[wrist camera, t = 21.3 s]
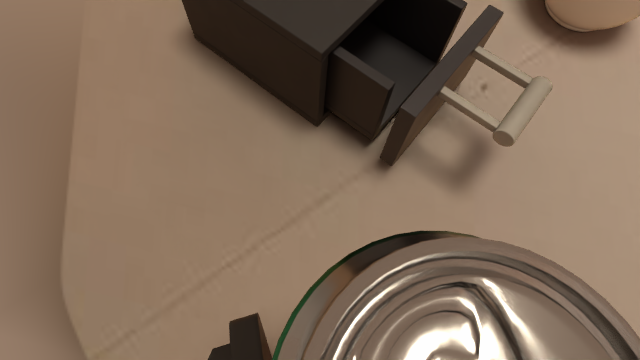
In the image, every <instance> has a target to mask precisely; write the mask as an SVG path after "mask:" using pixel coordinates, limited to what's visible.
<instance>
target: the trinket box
mask: <svg viewBox="0 0 640 360" xmlns="http://www.w3.org/2000/svg"><path fill="white" fill-rule="evenodd" d="M545 6H546V9H547V11H548V13H549V15H550V16H551V17H552V18H553V19H554V20H555V21H556V22H557V23H559V24H560V25H562V26H563V27H565V28H568V29H570V30H574V31H579V32H590V31H594V30H601V29H608V28H613V27H616V26H620V25H622V24H625V23H627V22H629V21H631V20H633V19H635V18H637V17H638V16H640V0H545Z"/></svg>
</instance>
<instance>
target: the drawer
mask: <svg viewBox="0 0 640 360" xmlns="http://www.w3.org/2000/svg"><path fill="white" fill-rule="evenodd" d="M466 6H467V2H465V1H463V0H384V1H383V2H382V3H381V4H380V5H379V6H378V7H377V8H376V9H375V10H374V11H373V12H372V13H371V14H370V15H369V16H368V17H366V18H365V19H364V20H363V21H362V22H361V23H360V24H359V25H358V26H357V27H356V28H355V29H354V30H353V31H352V32H351V33H350V34H349V35H348V36H347V37H346V38H345V39H344V40H343V41H342V42H341V43H340V44H339V45H338V46H337V47H336V48H335V49H334V50H332V51H331V52H330V53H329V54H328V66H327V78H326V89H325V101H324V107H326V108H327V109H328V110H330V111H331V112H333V113H334V114H336V115H337V116H338V117H340V118H341V119H343V120H344V121H345V122H347V123H348V124H350V125H351V126H352V127H354V128H355V129H357V130H358V131H359V132H361V133H362V134H364V135H365V136H366V137H368V138H369V139H371V140H373V139H374V138H375V136H376V135H377V134H378V133H379V132H380V131H381V129H382V128H383V127H384V126H385V125H386V124H387V123H388V121H389V120H390V119H391V118H392V117H393V116H394V115H395V113H396V112H397V111H398V110H399V112H398V114H397V116H396V119H395V121H394V124H393V126H392V129H391V131H390V134H389V136H388V138H387V141H386V143H385V146H384V148H383V151H382V153H381V156H380V158H381V159H382V160H383V161H385V162H386V163H388V164H389V165H390V166H392V165H393V164H394V163H395V162H396V161H397V159H398V158H399V157H400V156H401V155H402V153H403V152H404V151H405V150H406V148H407V147H408V146H409V145H410V144H411V142H412V141H413V140H414V139H415V137H416V136H417V135H418V134H419V133H420V131H421V130H422V129H423V128H424V127H425V125H426V124H427V123H428V122H429V120H430V119H431V118H432V117H433V116H434V114H435V113H436V112H437V111H438V109H439V108H440V107H441V106H442V105H443V103H444V102H445V101H446V102H447V103H449V104H450V105H452V106H453V107H455V108H456V109H458V110H459V111H461V112H462V113H464V114H465V115H467V116H469V117H470V118H472V119H473V120H475V121H476V122H478V123H479V124H481V125H482V126H484V127H485V128H487V129H489V130H490V131H492V132H493V139H494V140H495V141H496V142H497V143H498V144H500V145H502V146H506V147H508V146H512V145H513V144H514V143H515V141H516V140H517V138H518V137H519V135H520V134H521V133H522V131H523V130H524V128H525V127H526V125H527V124H528V123H529V121H530V120H531V118H532V117H533V115H534V114H535V112H536V111H537V110H538V108H539V107H540V105H541V104H542V102H543V101H544V100H545V98H546V97H547V95H548V94H549V92H550V91H551V89H552V83H551V81H550V80H549V79H547V78H545V77H541V76H539V77H535V78H532V77H530V76H528V75H527V74H525V73H523V72H522V71H520V70H519V69H517V68H515V67H514V66H512V65H510V64H509V63H507V62H505V61H504V60H502V59H500V58H499V57H497V56H495V55H494V54H492V53H490V52H489V51H487V50H485V49H484V48H483V47H484V45H485V43H486V42H487V40H488V38H489V37H490V35H491V34H492V32H493V30H494V29H495V27H496V25H497V24H498V22H499V20H500V19H501V17H502V15H503V12H502V11H500V10H498V9H497V8H495V7H493V6H491V5H489V6H488V7H487V8H486V9H485V10H484V12H483V13H482V14H481V15H480V16H479V17H478V18H477V20H476V21H475V22H474V23H473V24H472V25H471V26H470V28H469V29H468V30H467V31H466V32H465V33H464V34H463V36H462V37H461V38H460V39H459V40H458V41H457V42H456V44H455V45H454V46H453V47H452V48H451V49H450V51H449V52H448V53H447V54H446V55H445V56H444V57H443V59H442V60H441V61H440V59H441V57H442V55H443V53H444V51H445V49H446V47H447V45H448V43H449V41H450V39H451V37H452V35H453V33H454V31H455V28H456V26H457V24H458V22H459V20H460V18H461V16H462V14H463V12H464V10H465V8H466ZM476 59H478V60H479V61H481V62H482V63H484V64H486V65H487V66H489V67H491V68H492V69H494V70H496V71H497V72H499V73H500V74H502V75H504V76H505V77H507V78H509V79H510V80H512V81H514V82H515V83H517V84H518V85H520V86H522V87H523V88H526V89H525V90H524V91H523V93H522V94H521V95H520V97H519V98H518V100H517V101H516V102H515V104H514V105H513V106H512V108H511V109H510V110H509V112H508V113H507V115H506V116H505V117H504V119H503V120H502V121H501V122H500V121H498V120H497V119H495V118H494V117H492V116H491V115H489V114H487V113H486V112H484V111H483V110H481V109H480V108H478V107H477V106H475V105H473V104H472V103H470V102H469V101H467V100H466V99H464V98H462V97H461V96H459V95H458V94H456V93H455V92H453V91H454V90H455V89H456V88H457V86H458V85H459V84H460V83H461V81H462V80H463V79H464V78H465V76H466V75H467V73H468V71H469V70H470V68H471V67H472V65H473V63H474V62H475V60H476Z"/></svg>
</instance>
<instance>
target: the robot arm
mask: <svg viewBox="0 0 640 360" xmlns="http://www.w3.org/2000/svg"><path fill="white" fill-rule="evenodd" d="M229 330H230V344H227V345H223V346H220V347H217V348H214V349H213V350H212V352H211V354H210V356H209V358H208V360H272V356H271V353H270V350H269V346H268V343H267V340H266V337H265V333H264V330H263V327H262V323H261V320H260V317H259V314H258V313H255V314H252V315H249V316H246V317H242V318H239V319H236V320H232V321H230V323H229Z"/></svg>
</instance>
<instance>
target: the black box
mask: <svg viewBox="0 0 640 360" xmlns="http://www.w3.org/2000/svg"><path fill="white" fill-rule="evenodd" d="M383 1H384V0H182V2H183V5H184V8H185V11H186V14H187V16H188V19H189V22H190V25H191V28H192V30H193V34H194V37H195V38H196V39H197V40H199V41H200V42H201V43H203V44H204V45H205V46H207V47H208V48H210V49H211V50H212V51H214V52H215V53H216V54H218V55H219V56H220V57H222V58H223V59H225V60H226V61H227V62H229V63H230V64H231V65H233V66H234V67H236V68H237V69H238V70H240V71H241V72H242V73H244V74H245V75H247V76H248V77H249V78H251V79H252V80H253V81H255V82H256V83H258V84H259V85H260V86H262V87H263V88H264V89H266V90H267V91H269V92H270V93H271V94H273V95H274V96H275V97H277V98H278V99H280V100H281V101H282V102H284V103H285V104H286V105H288V106H289V107H290V108H292V109H293V110H295V111H296V112H297V113H299V114H300V115H301V116H303V117H304V118H306V119H307V120H308V121H310V122H311V123H312V124H314V125H315V126H317V127H318V126H319V125H320V124H321V122H322V121H323V120H324V119H325V118H326V117H327V116H328V115H329V114H330V113H331V111H330V110H328V109H327V108H326V107H324V101H325V89H326V78H327V66H328V54H329V53H330V52H331V51H332V50H334V49H335V48H336V47H337V46H338V45H339V44H340V43H341V42H342V41H343V40H344V39H345V38H346V37H347V36H348V35H349V34H350V33H351V32H352V31H353V30H354V29H355V28H356V27H357V26H358V25H359V24H360V23H361V22H362V21H363V20H364V19H365V18H366V17H368V16H369V15H370V14H371V13H372V12H373V11H374V10H375V9H376V8H377V7H378V6H379V5H380V4H381V3H382V2H383Z"/></svg>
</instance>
